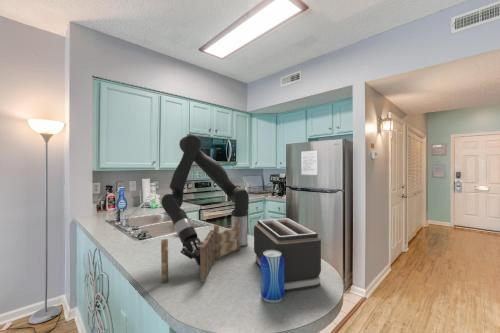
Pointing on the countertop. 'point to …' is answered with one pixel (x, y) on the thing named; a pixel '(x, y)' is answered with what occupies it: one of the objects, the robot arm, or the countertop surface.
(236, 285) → the countertop surface
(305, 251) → the toaster
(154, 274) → the countertop surface
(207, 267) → the gate
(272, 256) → the beer can
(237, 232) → the fence
